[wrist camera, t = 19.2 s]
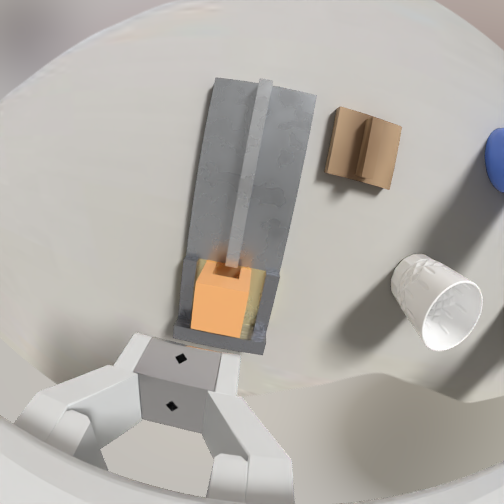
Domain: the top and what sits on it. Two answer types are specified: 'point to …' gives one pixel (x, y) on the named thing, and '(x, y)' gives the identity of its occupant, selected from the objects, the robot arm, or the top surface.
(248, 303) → the rail
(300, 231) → the top surface
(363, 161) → the pad
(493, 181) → the water bottle
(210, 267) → the orange notched block
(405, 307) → the white cup
